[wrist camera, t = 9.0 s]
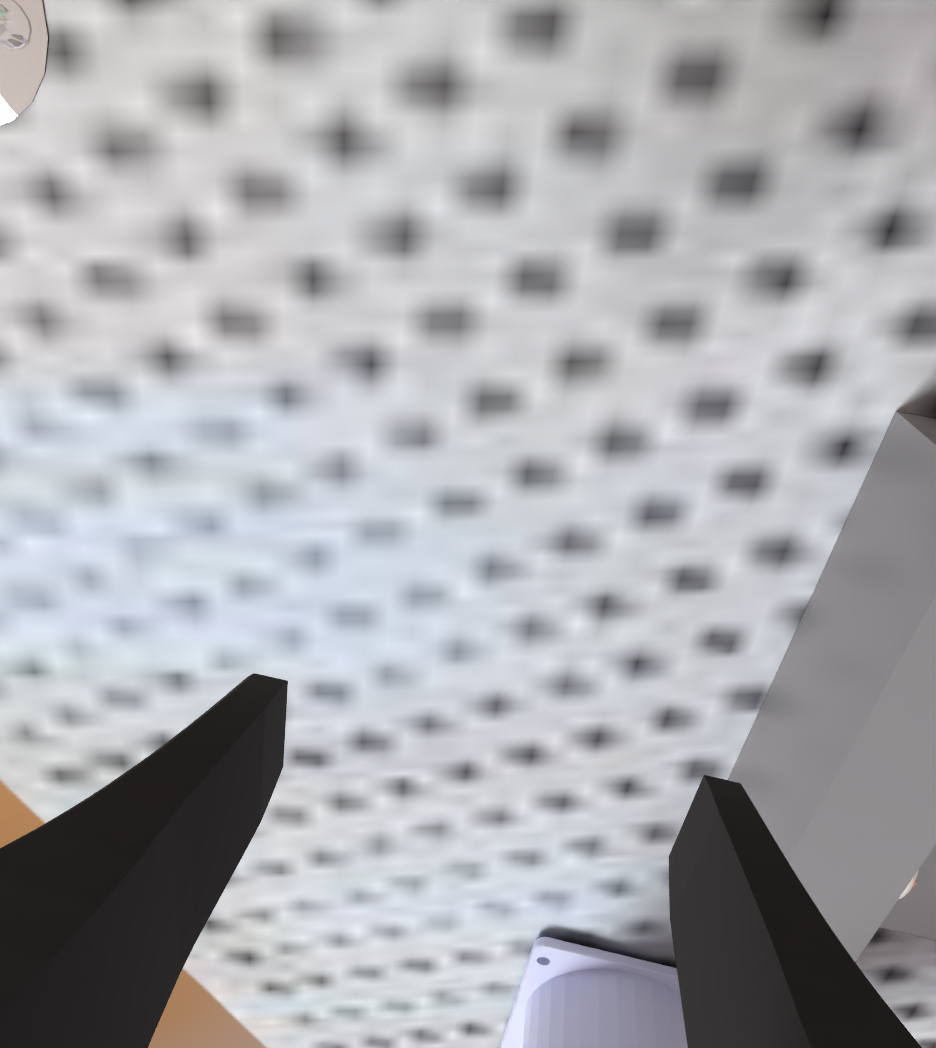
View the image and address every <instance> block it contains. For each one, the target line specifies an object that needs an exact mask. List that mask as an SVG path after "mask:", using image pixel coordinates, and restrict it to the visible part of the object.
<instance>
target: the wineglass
mask: <svg viewBox="0 0 936 1048" xmlns="http://www.w3.org/2000/svg"><path fill="white" fill-rule="evenodd" d="M47 43H48V35H47V28H46V22H45V16H44V9H43V3H42V0H0V125H2V124H5V123H8V122H11V121H13V120H14V119H15V118H16V117H17V116H18V115H19V114H20V113H21V112H22V111H23V110H24V109H25V108H26V107H27V106H28V105H29V104H30V103H31V102H32V101H33V99H34V96H35V94H36V92H37V90H38V87H39V85H40V83H41V80H42V78H43V76H44V73H45V63H46V53H47Z"/></svg>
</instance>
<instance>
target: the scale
mask: <svg viewBox="0 0 936 1048" xmlns="http://www.w3.org/2000/svg"><path fill="white" fill-rule="evenodd" d="M728 780H729V781H733V782H737V783H741V785H742V786H743V788H744V789H745V791H746V793H747V794H748V796H749V798H750V799H751V801H752V803H753V804H754V806H755V808H756V809H757V811H758V813H759V814H760V816H761V818H762V819H763V821H764V823H765V824H766V826H767V828H768V829H769V831H770V833H771V834H772V836H773V838H774V839H775V841H776V843H777V844H778V846H779V848H780V849H781V851H782V853H783V854H784V856H785V858H786V859H787V861H788V862H789V864H790V866H791V867H792V869H793V870H794V872H795V874H796V875H797V877H798V878H799V880H800V882H801V883H802V885H803V886H804V888H805V889H806V891H807V892H808V894H809V895H810V897H811V899H812V900H813V902H814V903H815V905H816V906H817V908H818V909H819V911H820V913H821V914H822V916H823V917H824V919H825V920H826V922H827V923H828V925H829V926H830V927H831V929H832V930H833V932H834V933H835V935H836V936H837V938H838V939H839V941H840V942H841V943H842V945H843V946H844V948H845V949H846V950H847V952H848V953H849V955H850V956H851V957H852V959H853V960H854V962H856V961H857V959H858V958H859V956H860V955H861V953H862V952H863V950H864V949H865V947H866V946H867V944H868V943H869V941H870V940H871V939H872V937H873V936H874V934H875V933H876V931H877V930H878V928H879V927H880V928H884V929H889V930H893V931H897V932H901V933H906V934H910V935H914V936H918V937H923V938H927V939H931V940H935V941H936V419H933V418H928V417H923V416H918V415H912V414H907V413H902V412H897V411H896V412H895V415H894V417H893V419H892V421H891V423H890V426H889V428H888V430H887V432H886V434H885V437H884V439H883V441H882V443H881V445H880V448H879V450H878V452H877V454H876V456H875V458H874V461H873V463H872V465H871V467H870V469H869V472H868V474H867V476H866V478H865V480H864V483H863V485H862V487H861V489H860V491H859V494H858V496H857V498H856V500H855V502H854V505H853V507H852V509H851V511H850V513H849V516H848V518H847V520H846V522H845V524H844V527H843V529H842V531H841V533H840V535H839V538H838V540H837V542H836V544H835V546H834V549H833V551H832V553H831V555H830V557H829V560H828V562H827V564H826V566H825V568H824V571H823V573H822V575H821V577H820V579H819V582H818V584H817V586H816V588H815V590H814V593H813V595H812V597H811V599H810V601H809V603H808V606H807V608H806V610H805V612H804V614H803V617H802V619H801V621H800V623H799V625H798V628H797V630H796V632H795V634H794V636H793V639H792V641H791V643H790V645H789V647H788V650H787V652H786V654H785V656H784V658H783V661H782V663H781V665H780V667H779V669H778V672H777V674H776V676H775V678H774V680H773V683H772V685H771V687H770V689H769V691H768V694H767V696H766V698H765V700H764V702H763V705H762V707H761V709H760V711H759V713H758V716H757V718H756V720H755V722H754V724H753V727H752V729H751V731H750V733H749V735H748V738H747V740H746V742H745V744H744V746H743V748H742V751H741V753H740V755H739V757H738V759H737V762H736V764H735V766H734V768H733V770H732V773H731V775H730V777H729V779H728Z"/></svg>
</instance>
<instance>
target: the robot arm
mask: <svg viewBox="0 0 936 1048" xmlns="http://www.w3.org/2000/svg"><path fill="white" fill-rule="evenodd" d="M287 685H288V681H286V680H281V679H277V678H272V677H268V676H264V675H259V674H255V673H254V674H252V675H250V676H248V677H247V678H246V679H245V680H243V681H242V682H241V683H240V684H239V685H238V686H236V687H235V688H234V689H233V690H232V691H230V692H229V693H228V694H227V695H226V696H224V697H223V698H222V699H221V700H220V701H219V702H217V703H216V704H215V705H214V706H212V707H211V708H210V709H209V710H208V711H206V712H205V713H204V714H203V715H201V716H200V717H199V718H198V719H196V720H195V721H194V722H193V723H192V724H190V725H189V726H188V727H186V728H185V729H184V730H182V731H181V732H180V733H179V734H177V735H176V736H175V737H173V738H172V739H171V740H169V741H168V742H167V743H166V744H164V745H163V746H162V747H160V748H159V749H158V750H156V751H155V752H154V753H152V754H151V755H150V756H148V757H147V758H145V759H144V760H143V761H141V762H140V763H138V764H137V765H135V766H134V767H133V768H131V769H130V770H128V771H127V772H125V773H124V774H123V775H121V776H120V777H118V778H117V779H115V780H114V781H112V782H111V783H110V784H108V785H107V786H105V787H104V788H102V789H101V790H99V791H98V792H96V793H95V794H93V795H91V796H90V797H88V798H87V799H85V800H84V801H82V802H80V803H79V804H77V805H76V806H74V807H72V808H71V809H69V810H67V811H66V812H64V813H62V814H61V815H59V816H57V817H56V818H54V819H52V820H51V821H49V822H47V823H46V824H44V825H42V826H40V827H39V828H37V829H35V830H33V831H31V832H30V833H28V834H26V835H24V836H22V837H20V838H19V839H17V840H15V841H13V842H11V843H10V844H8V845H6V846H4V847H2V848H0V1048H148V1046H149V1043H150V1041H151V1038H152V1036H153V1034H154V1032H155V1029H156V1027H157V1025H158V1022H159V1020H160V1018H161V1016H162V1013H163V1011H164V1009H165V1006H166V1004H167V1002H168V999H169V997H170V995H171V993H172V990H173V988H174V986H175V984H176V981H177V979H178V977H179V974H180V972H181V970H182V968H183V966H184V964H185V962H186V960H187V958H188V956H189V954H190V952H191V950H192V948H193V946H194V944H195V942H196V940H197V939H198V937H199V935H200V933H201V931H202V929H203V928H204V926H205V924H206V922H207V920H208V918H209V917H210V915H211V913H212V911H213V909H214V907H215V906H216V904H217V902H218V900H219V898H220V896H221V895H222V893H223V891H224V889H225V887H226V885H227V884H228V882H229V880H230V878H231V876H232V874H233V873H234V871H235V869H236V867H237V865H238V863H239V862H240V860H241V858H242V856H243V854H244V852H245V850H246V849H247V847H248V845H249V843H250V841H251V839H252V837H253V836H254V834H255V832H256V830H257V828H258V826H259V824H260V822H261V820H262V818H263V815H264V813H265V810H266V808H267V806H268V803H269V801H270V798H271V796H272V793H273V791H274V788H275V786H276V783H277V781H278V778H279V776H280V773H281V771H282V768H283V759H284V740H285V722H286V704H287ZM669 897H670V921H671V929H672V937H673V945H674V952H675V960H676V967H677V968H674V967H670V966H666V965H662V964H657V963H653V962H649V961H645V960H641V959H637V958H633V957H628V956H624V955H620V954H616V953H612V952H608V951H603V950H599V949H595V948H591V947H587V946H583V945H579V944H574V943H570V942H566V941H562V940H558V939H554V938H550V937H540V938H538V939H536V941H535V942H534V944H533V948H532V951H531V954H530V957H529V960H528V963H527V966H526V969H525V972H524V975H523V978H522V981H521V984H520V987H519V990H518V993H517V996H516V999H515V1002H514V1005H513V1008H512V1011H511V1014H510V1017H509V1021H508V1024H507V1027H506V1030H505V1033H504V1036H503V1039H502V1042H501V1045H500V1048H922V1047H921V1046H920V1045H919V1044H918V1043H917V1041H916V1040H915V1039H914V1038H913V1036H912V1035H911V1034H910V1033H909V1031H908V1030H907V1029H906V1028H905V1026H904V1025H903V1024H902V1023H901V1021H900V1020H899V1019H898V1018H897V1016H896V1015H895V1014H894V1013H893V1011H892V1010H891V1009H890V1008H889V1007H888V1005H887V1004H886V1003H885V1002H884V1000H883V999H882V998H881V997H880V995H879V994H878V993H877V991H876V990H875V989H874V987H873V986H872V985H871V983H870V982H869V981H868V979H867V978H866V977H865V975H864V974H863V973H862V971H861V970H860V969H859V967H858V966H857V964H856V963H855V962H854V960H853V959H852V957H851V956H850V955H849V953H848V952H847V950H846V949H845V948H844V946H843V945H842V943H841V942H840V941H839V939H838V938H837V936H836V935H835V933H834V932H833V930H832V929H831V927H830V926H829V925H828V923H827V922H826V920H825V919H824V917H823V916H822V914H821V913H820V911H819V909H818V908H817V906H816V905H815V903H814V902H813V900H812V899H811V897H810V895H809V894H808V892H807V891H806V889H805V888H804V886H803V885H802V883H801V882H800V880H799V878H798V877H797V875H796V874H795V872H794V870H793V869H792V867H791V866H790V864H789V862H788V861H787V859H786V858H785V856H784V854H783V853H782V851H781V849H780V848H779V846H778V844H777V843H776V841H775V839H774V838H773V836H772V834H771V833H770V831H769V829H768V828H767V826H766V824H765V823H764V821H763V819H762V818H761V816H760V814H759V813H758V811H757V809H756V808H755V806H754V804H753V803H752V801H751V799H750V798H749V796H748V794H747V793H746V791H745V789H744V788H743V786H742V785H741V783H737V782H733V781H729V780H724V779H720V778H715V777H711V776H706V775H704V776H703V779H702V781H701V783H700V786H699V788H698V790H697V793H696V795H695V797H694V800H693V802H692V804H691V807H690V809H689V811H688V813H687V816H686V818H685V820H684V823H683V825H682V827H681V830H680V832H679V834H678V837H677V839H676V841H675V844H674V846H673V848H672V851H671V853H670V855H669Z"/></svg>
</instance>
